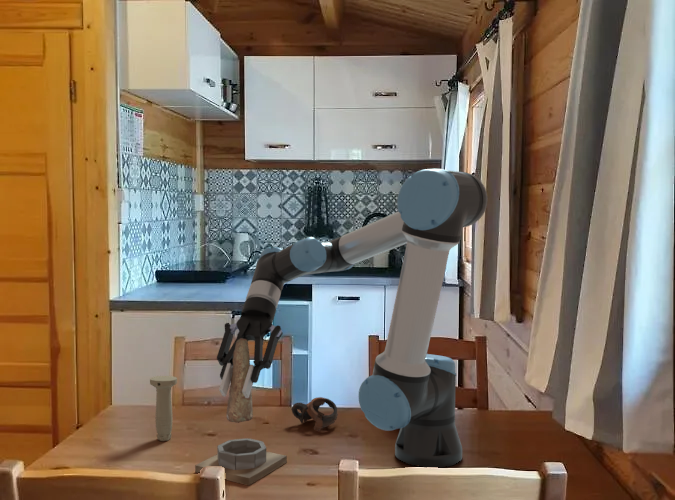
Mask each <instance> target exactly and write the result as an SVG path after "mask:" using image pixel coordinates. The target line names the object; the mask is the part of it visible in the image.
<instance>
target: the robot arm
mask: <svg viewBox="0 0 675 500" xmlns="http://www.w3.org/2000/svg"><path fill="white" fill-rule="evenodd" d="M488 199H489V197H488V192H487V190H486V186H485V185H484V183H483V182H482V181H481V180H480V179H479V178H478V177H477V176H476V175H474V174H472V173H468V172H466V171H465V172H464V171H455V170H449V169H443V168H434V167H433V168H427V169H426V168H425V169H421V170H418V171H416V172H414V173H412V174H411V175H410V176H408V177H407V178H406V179H405V181H404V182H403V183H402V185H401V187H400V189H399V191H398V195H397V200H396V203H397V204H396V206H397V211H396V212H394V213H392V214H389V215H387V216H385V217H382V218H380V219H378V220H375V221H374V222H371V223H369V224H367V225H363V226H362V227H359V228H357V229H355V230H353V231H350V232H347V233H345V234H343V235H342V236H339V237H337V238H334V239H332V240H329V241H320V240H319V239H316V238H315V237H313V236H309V237H306V238H304V239H303V238H302V239H300V240H297V241H296V242H294V243H293V244H291V245H289V246H287V247H285V248H281V247H277V246H274V247H270V246H269V247H266V248H265V249H263V250H262V251H261V253H260V256H259V258H258V260H257V261H256V266H255V269H254V273H253V276H252V278H251V283H250V286H249V288H248V290H247V294H246V297H245V300H244V304H243V305H242V310H241V313H240V318H239V319H238V320H236V323H232V324H230V323H229V322H226V323H224V334H223V337H222V338H221V343H220V345H219V349H218V352H217V356H216V360H217V362H218V364H219V365H220V366H221V369H220V370H221V371H220V374H219V378H220V380H221V382H220V386H219V388H218V391H219V392H220V394H221V396H222V397H227V395H228V390H229V389H230V385H231V378H232V369H233V353H234V350H235V346H236V342H237V340H239V339H240V338H243V339H247V341H248V342H249V341H254V350H253V351H254V352H253V353H254V354H253V361H252V362H253V364H250V366H249V369H248V373H247V376H246V380H245V383H244V386H243V390H242V392H243V394H244V396H245V398H249V396H250V392H251V389H252V388H253V384H257V383H258V381H259V378H260V375H261V371H262V370H263V369H267V370H269V369H270V368H272V367H271V366H272V364H273V359H274V355H275V353H276V349H277V345H278V342H279V341H280V339H281V337H282V336H283V334H284V333H283V330H282V328H281V326H280V325H279V324H278V325H276V326H275V325H273V322H274V319H275V317H276V312H277V308H278V306H279V301H280V298H281V294H282V292H283V291H282V290H283V288H284V285H285V283H288V282H291V281H293V280H295V279H298V278H300V277H303V276H305V275H306V276H307V275H314V274H321V273H330V272H338V273H339V272H343V271H346V270H347V271H348V270H350V269H352V268H353V267H354V266H355V264H357V263H360V262H362V261H365V260H368V259H370V258H373V257H376V256H378V255H380V254H383V253H385V252H388V251H391V250H394V249H397V248H398V247H402V246H404V245H406V246H405V251H404V256H403V260H402V265H401V270H400V275H399V280H398V286H397V291H396V295H395V299H394V305H393V309H392V314H391V320H390V323H389V324H390V325H389V328H388V329H389V330H388V334H387V339H386V345H385V348H384V351H383V352H382V353H380V354H378V355H377V356H375V361H374V365H373V371H372V375H370V376H368V377H366V378H365V379H364V380H363V381H362V383H361V384H360V386H359V390H358V403H359V407H360V410H361V411H362V412H363V413H364V417H365V418H366V419H367V421H368V422H369V423H370V424H371V425H373V426H374V427H375V428H377V429H379V430H381V431H388V432H389V431H394V430H398V429H399V432H398V434H397V438H396V440H395V445H394V455H395V457H396V458H397V459H398V460H399V461H400V460H401V462H402V461H403V462H402V463H404V462H406V463H405V464H407V463H408V464H407V465H410V464H412V465H411V466H414V465H419V466H423V467H422V468H427V467H440V468H445V467H444V466H447V467H451V466H455V465H457V464H459V463H460V462H461V461H462V459H463V446H462V443H461V439H460V437H459V433H458V429H457V427H456V386H457V385H456V382H457V381H456V380H457V379H456V378H457V373H456V363H455V361H454V360H453V359H452V358H451V357H448V356H445V355H444V356H443V355H437V354H430V353H428V350H429V345H430V340H431V337H432V331H433V327H434V322H435V318H436V313H437V309H438V306H439V300H440V296H441V295H440V294H441V291H442V288H443V287H442V286H443V282H444V279H445V278H444V277H445V272H446V268H447V263H448V260H449V255H450V250H451V249H452V248H454V247H455V246H457V245H459V244H460V242H461V241H460V240H461V236H462V232H463V228H466V227H470V226H472V225H474V224H476V223H477V222H478V221H479V220H480V219H482V217H483V215H484V214H485V212H486V209H487V207H488ZM237 330H238V333H237V334H236V332H237ZM269 333H270V334H269ZM235 334H236V338H235V340H234V342H233V339H234V335H235ZM268 334H269V338H268V340H267V341H268V342H267V344H266V348H265V351H264V346H263V345H264V341H265V340H264V339H265V338H264V337H266V336H267V335H268ZM232 342H233V344H232ZM231 345H232V346H231ZM263 351H264V354H263ZM252 390H253V389H252ZM459 461H460V462H459ZM458 462H459V463H458ZM456 463H457V464H456ZM419 466H418V467H419Z"/></svg>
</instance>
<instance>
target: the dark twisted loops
mask: <svg viewBox="0 0 675 500" xmlns="http://www.w3.org/2000/svg"><path fill="white" fill-rule="evenodd" d="M325 404H327V405H328V407H329V408H332V410H333V411H332V413H331V414H328V415H327V414H326V415H325V412H322V411H320V410H319V408H320V407H321V406H323V405H325ZM290 409H291V410H290V411H291V412H292V415H293V416H294V417H295V418H297V419H298V420H299V422H300V423H301V424H303V423H306V422H308V421H310V420H311V419H312V420H313V421H315V422H314V423H315V424H314V425H313V430H314V431H316V432H320V431H322V429H323V428H326V427H329V426H331V425H333V424H334V423H336V421H337V420H338V415H339V414H338V407H337V405H336V404H335V403H334V401H333V400H331V399H329V398H325V397H321V396H319V397H315V398H314V397H313V399H311V400H310V401H309V402H308V403H306V404H305V403H304V402H295V403H293V405H292V407H291V408H290ZM298 410H299V411H298Z"/></svg>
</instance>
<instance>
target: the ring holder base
mask: <svg viewBox="0 0 675 500" xmlns="http://www.w3.org/2000/svg"><path fill="white" fill-rule="evenodd" d="M287 458H288V457H287V455H285V454H279V453H275V452H271V451H267V446H266V444H265V442H264V441H262V440H259V439H253V438H250V437H249V438H236V439H228V440H227V441H224V442H223V443H220V444H218V445H217V454H214V455H213V456H211V457H209V458H207V459H205V460H203V461H201V462H199V463H197V464H195V466H194V467H195V469H194V471H195V473H197V474H199V473H198V472H200V470H201V469H202V468H203V467H206V466H222V467H224V468H225V473H226V479H227V480H226V481H229V482H233V483H237V484H241V485H246V486H251V485H252V484H254V483H256V482H257V481H259V480H260V479H262V478H264V477H265V476H267V475H268V474H270V473H272V472H273V471H275V470H277V469H279V468H280V467H281V466H283V465H285V464H287V463H288V462H287V461H288V460H287Z"/></svg>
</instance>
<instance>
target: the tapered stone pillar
mask: <svg viewBox="0 0 675 500" xmlns="http://www.w3.org/2000/svg"><path fill="white" fill-rule="evenodd" d="M248 342H249V340H248V341H247V339H243V338H240V339H239V340H237V342H236V346H235V350H234V353H233V366H232V367H233V369H232V378H231V382H230V385H229V389H228V390H229V392H228V399H227V408H226V420H227V421H228V422H230V423H235V424H236V423H238V424H239V423H243V422H249V421H251V420H252V419H253V418H254V417H253V416H254V415H253V411H254V410H253V395H252V393H253V391H252V390H253V389H251V392H250V396H249V398H245V396H244V394H243V392H242V390H243V386H244V383H245V380H246V376H247V373H248V369H249V366H250V365H251V359H250V349H249V343H248Z"/></svg>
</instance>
